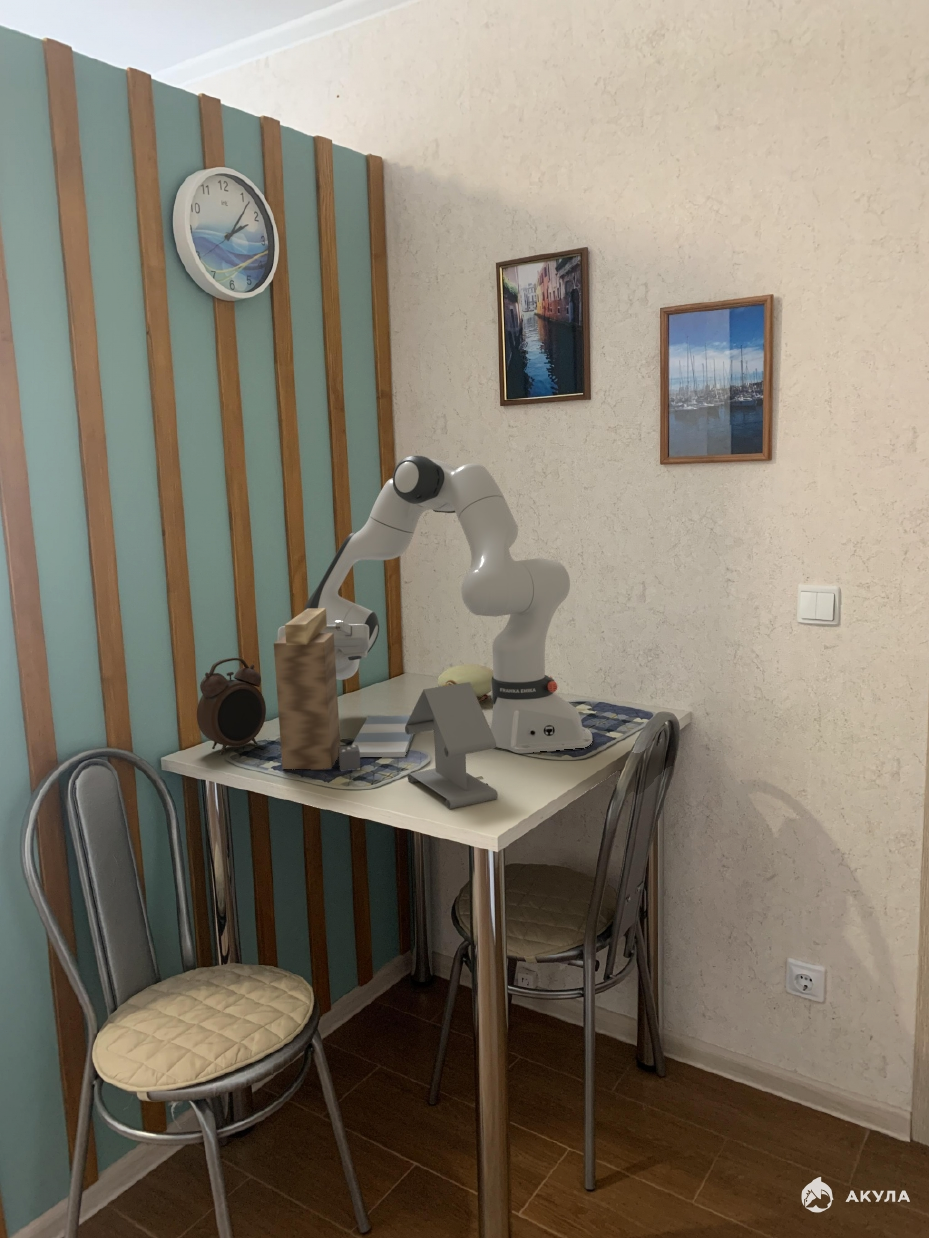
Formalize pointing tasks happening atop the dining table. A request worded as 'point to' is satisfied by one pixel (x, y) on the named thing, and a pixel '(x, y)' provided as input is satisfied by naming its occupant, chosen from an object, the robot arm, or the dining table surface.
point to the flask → (469, 678)
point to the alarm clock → (231, 706)
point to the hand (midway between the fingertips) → (317, 624)
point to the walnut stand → (307, 703)
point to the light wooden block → (305, 626)
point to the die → (349, 757)
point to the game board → (384, 737)
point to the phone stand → (453, 742)
